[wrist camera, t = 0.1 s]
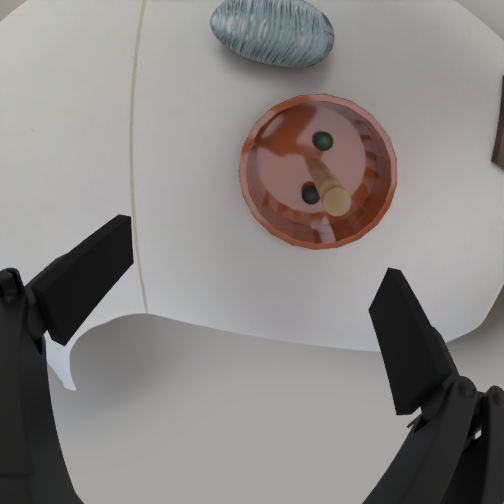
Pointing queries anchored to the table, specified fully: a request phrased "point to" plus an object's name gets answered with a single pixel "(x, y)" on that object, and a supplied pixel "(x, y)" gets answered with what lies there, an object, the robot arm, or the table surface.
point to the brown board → (500, 137)
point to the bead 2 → (323, 141)
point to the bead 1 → (310, 195)
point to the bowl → (298, 176)
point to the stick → (329, 188)
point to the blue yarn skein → (274, 31)
